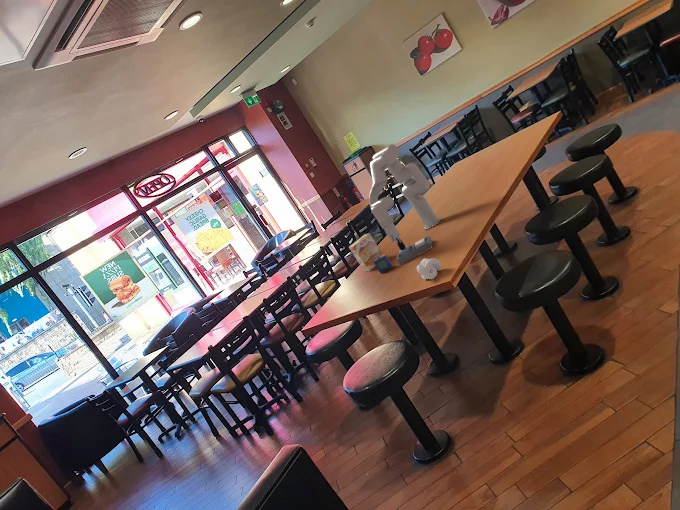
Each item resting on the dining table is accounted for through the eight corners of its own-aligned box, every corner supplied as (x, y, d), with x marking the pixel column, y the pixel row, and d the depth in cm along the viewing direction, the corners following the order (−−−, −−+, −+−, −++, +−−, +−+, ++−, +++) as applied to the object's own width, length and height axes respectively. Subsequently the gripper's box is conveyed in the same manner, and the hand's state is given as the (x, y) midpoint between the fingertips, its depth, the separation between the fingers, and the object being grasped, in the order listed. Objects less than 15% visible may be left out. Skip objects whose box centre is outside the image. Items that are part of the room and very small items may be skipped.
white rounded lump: (439, 279, 243) (429, 263, 241) (419, 287, 250) (409, 272, 248) (446, 267, 251) (436, 252, 250) (426, 275, 259) (416, 260, 257)
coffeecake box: (369, 271, 326) (352, 246, 322) (364, 271, 333) (347, 247, 329) (386, 257, 331) (369, 232, 327) (380, 258, 338) (364, 233, 334)
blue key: (402, 253, 306) (399, 249, 305) (411, 248, 304) (408, 244, 303) (401, 257, 300) (398, 253, 300) (410, 252, 298) (407, 248, 297)
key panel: (401, 257, 310) (398, 252, 309) (432, 241, 303) (428, 235, 302) (400, 265, 299) (396, 259, 298) (431, 248, 292) (428, 242, 291)
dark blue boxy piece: (394, 265, 305) (384, 251, 303) (393, 267, 303) (383, 253, 301) (381, 272, 309) (371, 258, 307) (380, 274, 306) (370, 260, 304)
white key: (417, 247, 302) (415, 242, 302) (426, 242, 300) (424, 237, 300) (417, 250, 297) (414, 246, 296) (426, 245, 295) (423, 241, 294)
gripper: (382, 222, 306) (399, 247, 309) (379, 229, 292) (396, 256, 295) (393, 216, 303) (409, 241, 307) (390, 223, 289) (408, 250, 293)
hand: (403, 248), depth 301 cm, fingers closed
